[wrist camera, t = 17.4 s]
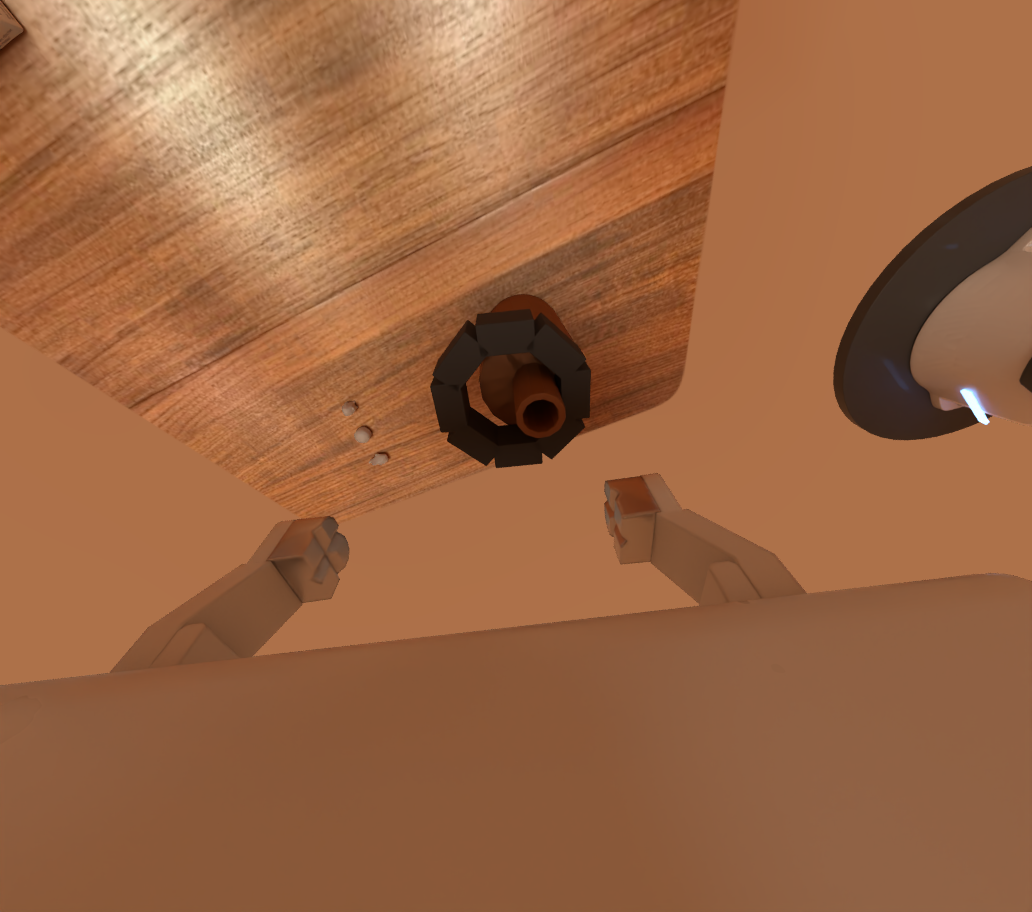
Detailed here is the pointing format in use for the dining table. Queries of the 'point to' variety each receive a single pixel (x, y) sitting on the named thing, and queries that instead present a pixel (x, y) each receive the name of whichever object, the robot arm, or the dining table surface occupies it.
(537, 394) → the amber bottle
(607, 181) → the dining table surface
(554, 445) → the black segmented bracelet
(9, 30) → the box
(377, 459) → the game pieces
